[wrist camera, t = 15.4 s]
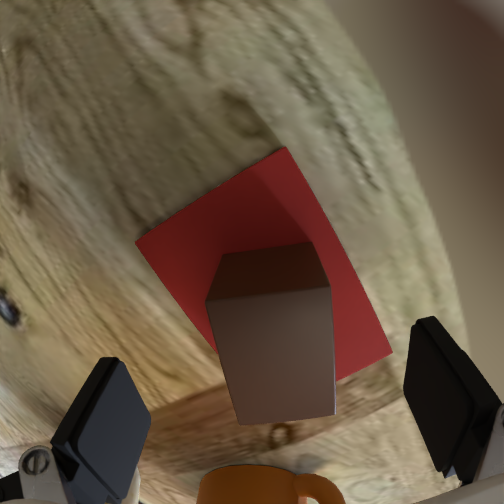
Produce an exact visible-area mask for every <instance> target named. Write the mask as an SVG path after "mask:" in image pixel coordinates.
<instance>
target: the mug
mask: <svg viewBox="0 0 504 504" xmlns="http://www.w3.org/2000/svg"><path fill="white" fill-rule="evenodd" d="M307 497H310V498H313V499H315V500H316V501H317V502H318V503H319V504H346V503H345V500H344V498H343V495H342V493H341V492H340V491H339V489H338V488H337V486H336V485H335V484H334V483H332V482H331V481H330V480H328V479H327V478H324V477H322V476H319V475H316V474H306V473H305V474H300V475H296V474H294V473H291V472H289V471H286V470H284V469H279V468H274V467H270V466H260V465H237V466H228V467H224V468H220V469H216V470H214V471H212V472H210V473H208V474H206V475H205V476H204V478H203V479H202V480H201V483H200V488H199V493H198V498H197V503H196V504H307Z"/></svg>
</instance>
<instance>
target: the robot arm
mask: <svg viewBox="0 0 504 504" xmlns="http://www.w3.org/2000/svg"><path fill="white" fill-rule="evenodd" d="M403 391H404V395H405V398H406V400H407V402H408V404H409V407H410V409H411V411H412V413H413V416H414V418H415V420H416V423H417V425H418V427H419V430H420V432H421V434H422V437H423V439H424V441H425V444H426V446H427V449H428V451H429V453H430V456H431V458H432V461H433V463H434V466H435V468H436V470H437V471H438V472H441V471H442V473H443V476H444V478H447V477H450V476H452V475H455V474H457V477H458V479H459V480H460V483H459V485H458V488H457V489H454V490H451V491H449V492H446V493H443V494H440V495H438V496H435V497H432V498H429V499H426V500H423V501H420V502H416V503H413V504H504V403H503V404H502V402H501V401H500V399H499V398H498V396H497V395H496V393H495V392H494V391H493V389H492V388H491V386H490V385H489V383H488V382H487V381H486V379H485V378H484V377H483V375H482V374H481V373H480V371H479V370H478V368H477V367H476V366H475V364H474V363H473V362H472V360H471V359H470V358H469V356H468V355H467V354H466V352H464V351H463V350H461V349H460V347H459V346H458V345H457V343H456V342H455V341H454V340H453V338H452V337H451V336H450V334H449V333H448V332H447V331H446V329H445V328H444V327H443V326H442V324H441V323H440V322H439V321H438V319H437V318H436V317H435V316H430V317H426V318H421V319H418V320H417V321H416V324H415V325H412V327H411V333H410V342H409V350H408V358H407V365H406V372H405V378H404V384H403ZM150 425H151V416H150V413H149V412H148V410H147V408H146V406H145V404H144V402H143V400H142V398H141V396H140V394H139V392H138V390H137V388H136V386H135V384H134V382H133V380H132V378H131V376H130V374H129V372H128V370H127V368H126V366H125V364H124V362H122V361H120V360H119V359H118V358H117V357H102V358H100V359H99V361H98V363H97V364H96V366H95V367H94V369H93V370H92V372H91V374H90V375H89V377H88V378H87V380H86V382H85V383H84V385H83V387H82V388H81V390H80V391H79V393H78V395H77V396H76V398H75V400H74V401H73V403H72V405H71V406H70V408H69V410H68V411H67V413H66V415H65V417H64V418H63V420H62V422H61V423H60V425H59V427H58V429H57V430H56V432H55V434H54V436H53V437H52V439H51V441H50V443H51V444H52V445H53V447H52V449H51V450H50V449H49V448H48V447H46V446H42V445H38V446H34V447H31V448H30V449H28V450H27V451H25V452H24V453H23V455H22V456H21V458H20V460H19V465H18V469H19V471H17V472H15V473H12V474H10V475H8V476H6V477H3V478H1V479H0V504H105V502H106V503H108V504H121V502H122V499H125V498H126V497H127V495H128V491H129V488H130V485H131V482H132V479H133V476H134V473H135V470H136V466H137V463H138V460H139V457H140V454H141V451H142V448H143V445H144V442H145V439H146V436H147V433H148V430H149V428H150Z"/></svg>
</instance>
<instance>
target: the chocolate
mask: <svg viewBox="0 0 504 504" xmlns="http://www.w3.org/2000/svg"><path fill="white" fill-rule="evenodd" d="M205 307H206V311H207V315H208V318H209V322H210V326H211V330H212V333H213V337H214V341H215V344H216V348H217V352H218V355H219V359H220V362H221V366H222V369H223V373H224V376H225V380H226V383H227V386H228V390H229V393H230V396H231V400H232V403H233V406H234V410H235V413H236V416H237V419H238V422H239V425H254V424H267V423H277V422H287V421H296V420H303V419H311V418H318V417H324V416H331V415H335V414H336V369H335V342H334V322H333V305H332V290H331V284H330V282H329V279H328V277H327V275H326V272H325V270H324V268H323V265H322V263H321V261H320V258H319V256H318V254H317V251H316V249H315V247H314V244H313V242H305V243H298V244H292V245H285V246H278V247H271V248H264V249H257V250H250V251H243V252H236V253H229V254H223V255H222V257H221V260H220V262H219V265H218V267H217V270H216V273H215V275H214V278H213V281H212V283H211V286H210V288H209V291H208V294H207V296H206V299H205Z"/></svg>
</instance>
